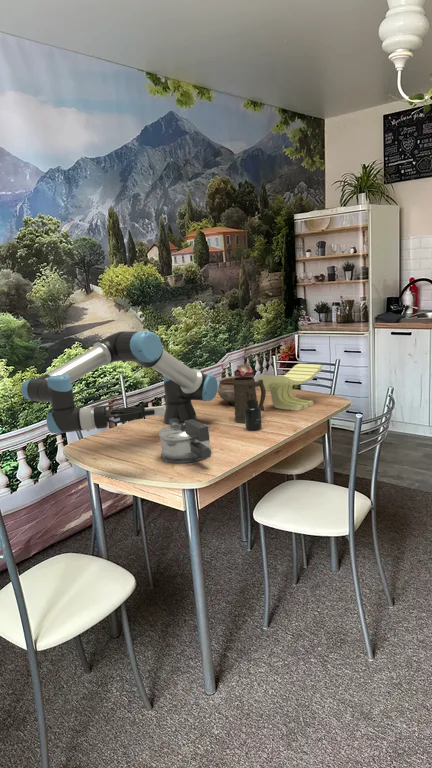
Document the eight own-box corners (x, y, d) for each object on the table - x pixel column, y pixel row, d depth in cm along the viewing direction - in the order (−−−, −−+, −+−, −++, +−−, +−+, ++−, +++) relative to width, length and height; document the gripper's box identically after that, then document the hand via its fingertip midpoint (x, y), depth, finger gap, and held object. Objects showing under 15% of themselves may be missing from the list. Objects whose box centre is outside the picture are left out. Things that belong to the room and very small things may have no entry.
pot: (152, 451, 208) (150, 431, 207) (196, 442, 216) (194, 422, 214) (182, 474, 181) (179, 452, 179) (231, 463, 188) (229, 441, 187)
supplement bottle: (260, 430, 224) (259, 402, 221) (244, 431, 225) (242, 403, 223) (262, 426, 230) (261, 398, 228) (247, 426, 232) (245, 399, 229)
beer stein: (240, 424, 235) (240, 380, 232) (229, 420, 244) (228, 377, 241) (270, 420, 242) (269, 377, 238) (257, 416, 251) (257, 374, 248)
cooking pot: (230, 396, 292) (228, 374, 290) (263, 397, 284) (261, 374, 282) (210, 407, 270) (207, 384, 268) (244, 409, 262) (243, 384, 260)
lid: (150, 431, 206) (148, 415, 204) (194, 422, 213) (193, 407, 212) (180, 450, 179) (178, 432, 178) (229, 439, 187) (228, 422, 186)
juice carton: (255, 409, 260) (252, 364, 256) (244, 411, 257) (240, 366, 253) (248, 406, 266) (245, 362, 262) (236, 409, 263) (233, 364, 259)
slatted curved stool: (295, 397, 277) (293, 363, 274) (322, 400, 267) (321, 364, 263) (260, 411, 256) (257, 374, 252) (288, 414, 245) (285, 376, 242)
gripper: (98, 423, 190) (165, 415, 192) (93, 434, 177) (165, 425, 179) (95, 402, 189) (163, 395, 190) (90, 412, 176) (163, 403, 178)
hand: (164, 410), depth 185 cm, fingers closed
